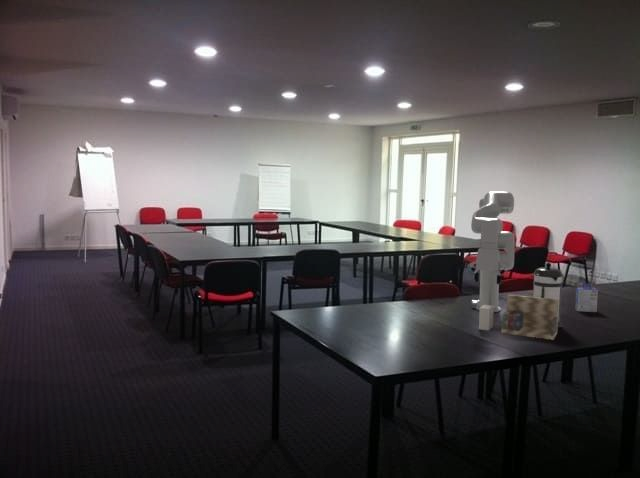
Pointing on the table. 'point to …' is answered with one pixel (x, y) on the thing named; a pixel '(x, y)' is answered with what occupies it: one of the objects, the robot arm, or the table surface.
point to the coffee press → (548, 284)
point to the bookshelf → (531, 317)
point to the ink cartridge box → (586, 299)
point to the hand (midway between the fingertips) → (487, 282)
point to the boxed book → (486, 317)
